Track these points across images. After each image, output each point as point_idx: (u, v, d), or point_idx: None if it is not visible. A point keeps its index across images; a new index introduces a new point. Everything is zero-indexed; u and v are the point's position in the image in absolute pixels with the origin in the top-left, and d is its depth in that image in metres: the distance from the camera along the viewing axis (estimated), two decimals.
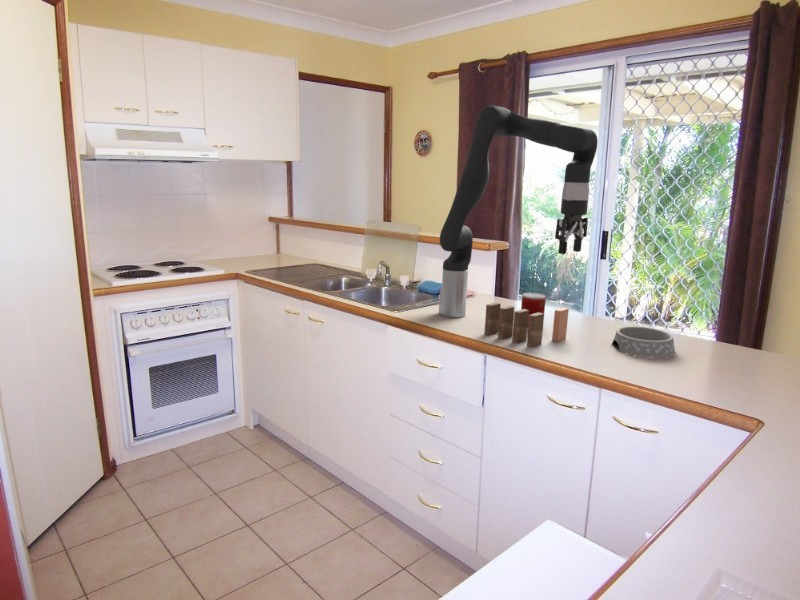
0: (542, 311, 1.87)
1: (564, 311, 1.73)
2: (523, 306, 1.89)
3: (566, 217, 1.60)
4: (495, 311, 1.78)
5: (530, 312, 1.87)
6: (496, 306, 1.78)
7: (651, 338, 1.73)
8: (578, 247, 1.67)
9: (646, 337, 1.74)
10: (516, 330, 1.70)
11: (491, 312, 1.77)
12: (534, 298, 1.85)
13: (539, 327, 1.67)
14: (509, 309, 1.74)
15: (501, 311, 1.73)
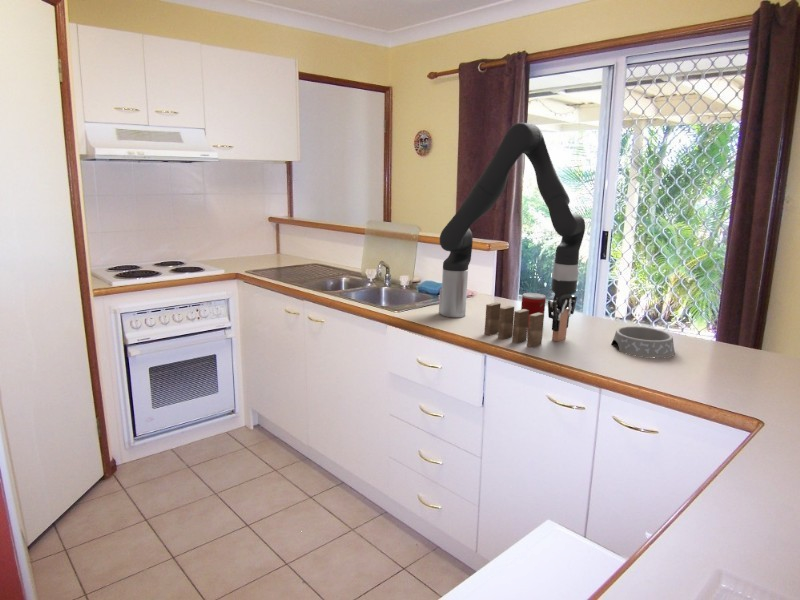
0: (542, 311, 1.87)
1: (564, 311, 1.73)
2: (523, 306, 1.89)
3: (556, 296, 1.70)
4: (495, 311, 1.78)
5: (530, 312, 1.87)
6: (496, 306, 1.78)
7: (651, 338, 1.73)
8: None
9: (646, 337, 1.74)
10: (516, 330, 1.70)
11: (491, 312, 1.77)
12: (534, 298, 1.85)
13: (539, 327, 1.67)
14: (509, 309, 1.74)
15: (501, 311, 1.73)
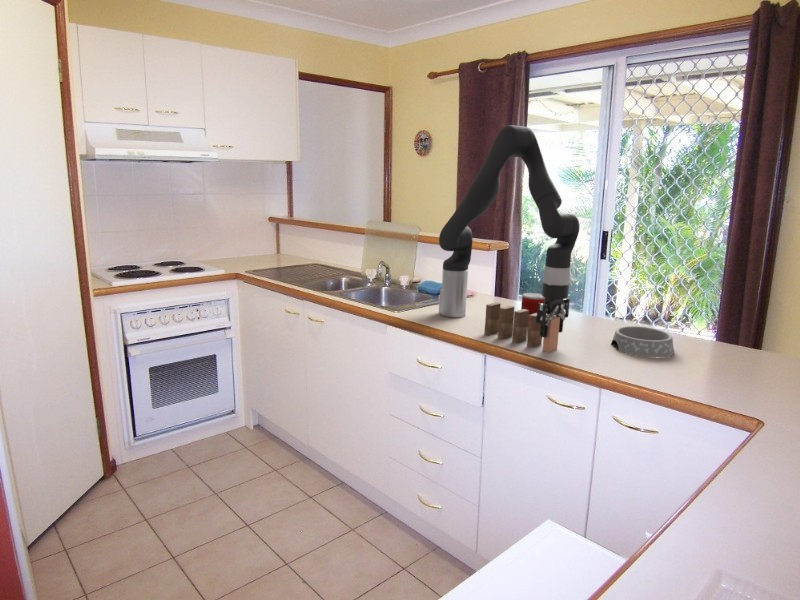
0: None
1: (555, 320, 1.62)
2: (523, 306, 1.89)
3: (547, 301, 1.59)
4: (495, 311, 1.78)
5: (530, 312, 1.87)
6: (496, 306, 1.78)
7: (650, 338, 1.73)
8: (560, 328, 1.66)
9: (645, 337, 1.74)
10: (516, 330, 1.70)
11: (491, 312, 1.77)
12: (534, 298, 1.85)
13: (539, 327, 1.67)
14: (509, 309, 1.74)
15: (501, 311, 1.73)
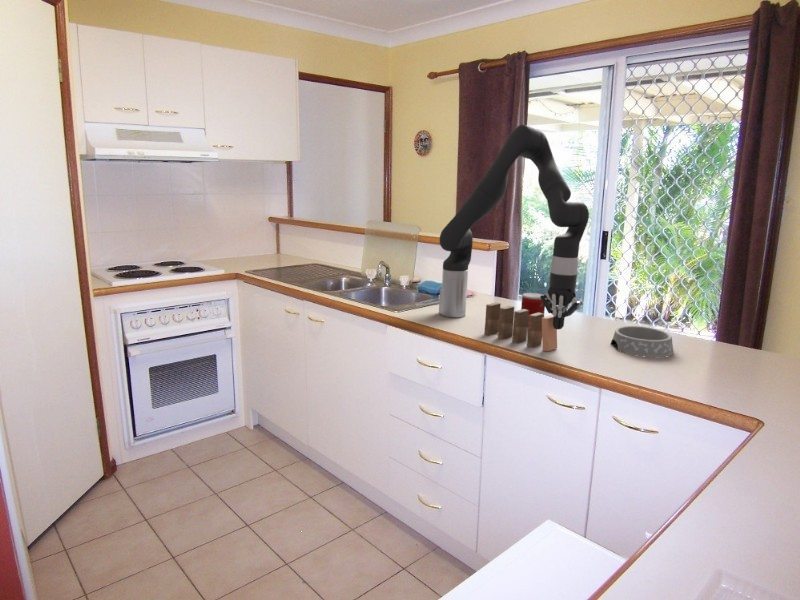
0: (542, 311, 1.87)
1: (552, 318, 1.63)
2: (523, 306, 1.89)
3: None
4: (495, 311, 1.78)
5: (530, 312, 1.87)
6: (496, 306, 1.78)
7: (650, 338, 1.73)
8: None
9: (645, 337, 1.74)
10: (516, 330, 1.70)
11: (491, 312, 1.77)
12: (534, 298, 1.85)
13: (539, 327, 1.67)
14: (509, 309, 1.74)
15: (501, 311, 1.73)
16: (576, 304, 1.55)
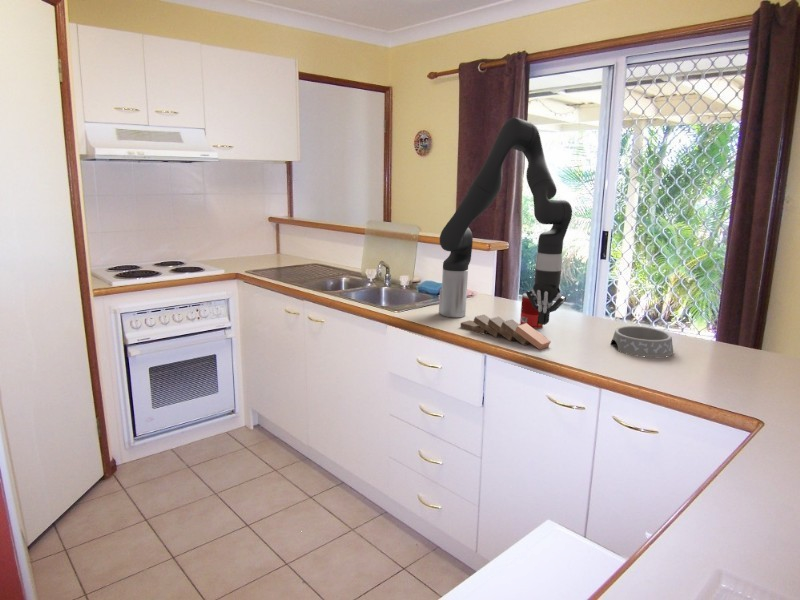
0: None
1: (523, 325, 1.71)
2: (523, 306, 1.89)
3: None
4: (470, 322, 1.86)
5: (530, 312, 1.87)
6: (467, 321, 1.88)
7: (650, 338, 1.73)
8: None
9: (645, 337, 1.74)
10: (502, 330, 1.74)
11: (467, 324, 1.85)
12: None
13: None
14: (480, 316, 1.83)
15: (476, 321, 1.81)
16: (560, 299, 1.59)
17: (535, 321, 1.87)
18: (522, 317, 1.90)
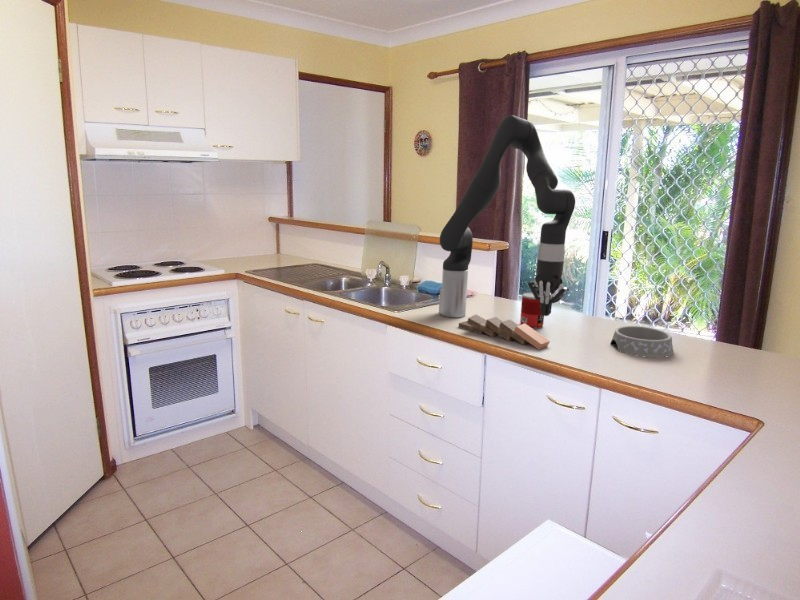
0: None
1: (521, 325, 1.71)
2: (523, 306, 1.89)
3: None
4: None
5: (530, 312, 1.87)
6: (465, 322, 1.88)
7: (650, 337, 1.73)
8: None
9: (645, 336, 1.74)
10: (500, 330, 1.74)
11: (465, 324, 1.85)
12: (534, 298, 1.85)
13: (515, 327, 1.74)
14: (473, 316, 1.82)
15: (469, 322, 1.81)
16: (563, 290, 1.57)
17: (535, 321, 1.87)
18: (522, 317, 1.90)
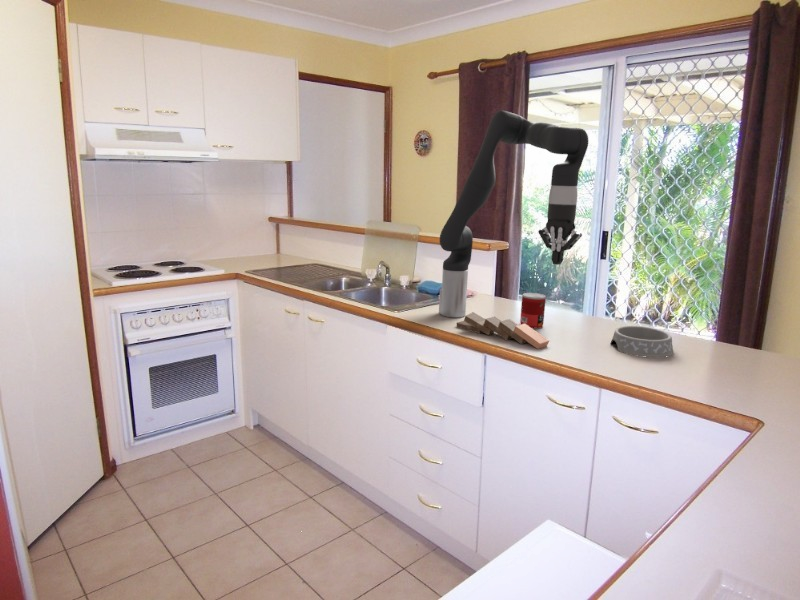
0: (542, 311, 1.87)
1: (521, 325, 1.72)
2: (523, 306, 1.89)
3: None
4: (466, 322, 1.87)
5: (530, 312, 1.87)
6: (463, 321, 1.88)
7: (650, 337, 1.73)
8: None
9: (645, 336, 1.74)
10: (498, 330, 1.75)
11: (463, 323, 1.86)
12: (534, 298, 1.85)
13: None
14: (470, 314, 1.83)
15: (466, 320, 1.81)
16: (576, 235, 1.48)
17: (535, 321, 1.87)
18: (522, 317, 1.90)
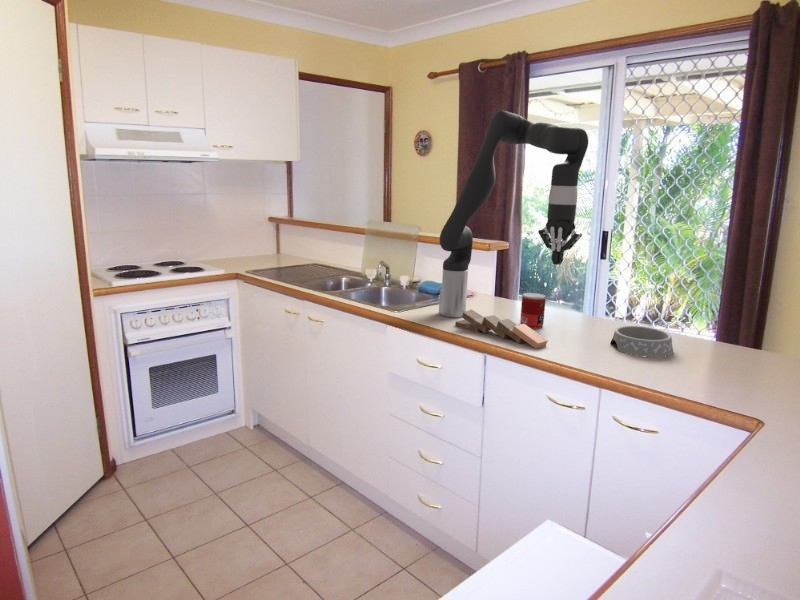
0: (542, 311, 1.87)
1: (520, 325, 1.72)
2: (523, 306, 1.89)
3: None
4: (465, 322, 1.88)
5: (530, 312, 1.87)
6: (462, 320, 1.89)
7: (649, 337, 1.73)
8: None
9: (644, 336, 1.74)
10: (495, 328, 1.77)
11: (461, 323, 1.87)
12: (534, 298, 1.85)
13: (513, 326, 1.75)
14: (468, 311, 1.85)
15: (464, 317, 1.84)
16: (576, 235, 1.48)
17: (535, 321, 1.87)
18: (522, 317, 1.90)
